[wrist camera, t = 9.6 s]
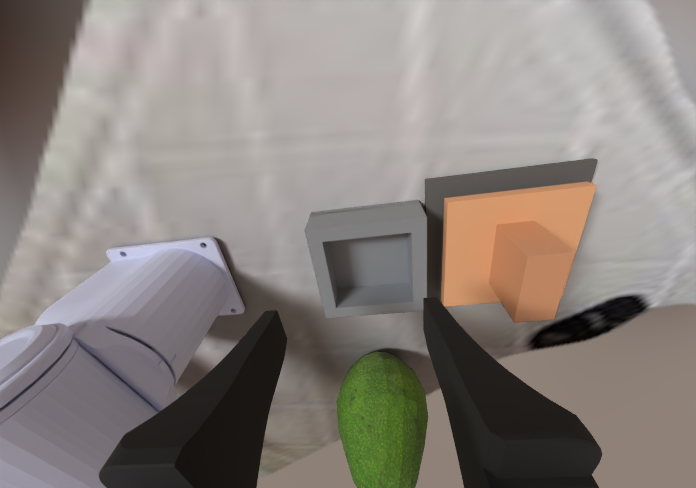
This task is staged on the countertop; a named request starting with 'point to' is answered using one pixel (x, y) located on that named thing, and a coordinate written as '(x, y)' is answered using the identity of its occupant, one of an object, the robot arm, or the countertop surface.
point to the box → (370, 258)
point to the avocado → (382, 422)
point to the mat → (487, 184)
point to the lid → (513, 247)
